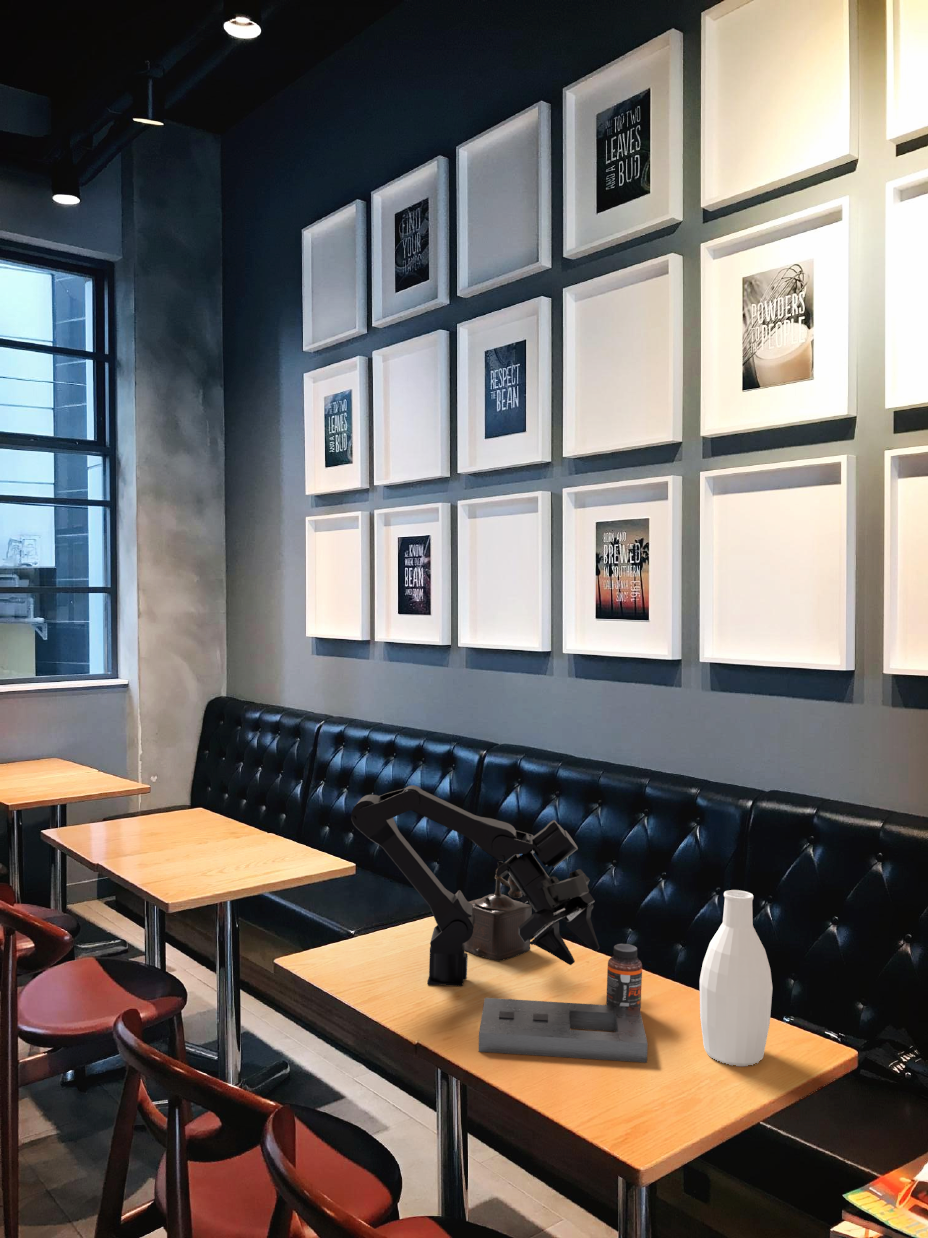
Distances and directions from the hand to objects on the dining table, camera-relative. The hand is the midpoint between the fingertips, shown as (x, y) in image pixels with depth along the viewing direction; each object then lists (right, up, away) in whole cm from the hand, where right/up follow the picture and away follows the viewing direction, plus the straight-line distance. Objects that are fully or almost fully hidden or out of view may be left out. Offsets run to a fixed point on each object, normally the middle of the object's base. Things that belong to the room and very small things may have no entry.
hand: (585, 956), depth 178 cm
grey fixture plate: (-6, -8, -15) cm, 18 cm away
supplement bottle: (+6, -8, -4) cm, 11 cm away
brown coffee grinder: (-14, -8, +23) cm, 28 cm away
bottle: (+21, -9, -20) cm, 30 cm away
